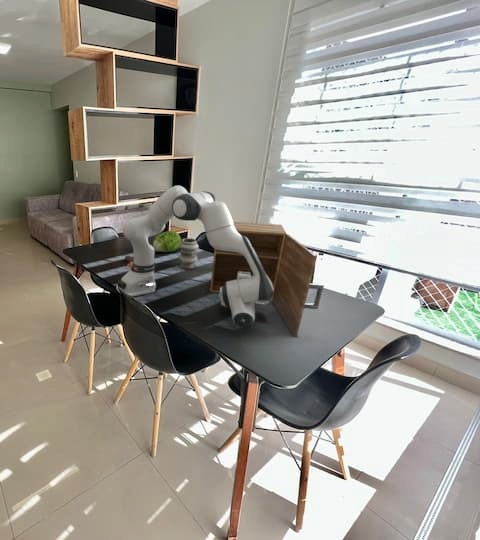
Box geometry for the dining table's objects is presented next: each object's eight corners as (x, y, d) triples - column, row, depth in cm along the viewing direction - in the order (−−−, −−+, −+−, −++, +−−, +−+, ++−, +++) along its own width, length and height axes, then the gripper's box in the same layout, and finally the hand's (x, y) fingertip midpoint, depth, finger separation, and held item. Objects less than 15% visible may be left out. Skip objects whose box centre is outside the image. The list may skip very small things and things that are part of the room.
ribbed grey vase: (176, 268, 183) (177, 241, 176) (179, 262, 193) (181, 236, 186) (195, 271, 178) (197, 243, 172) (198, 264, 189) (200, 238, 182)
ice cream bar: (138, 261, 187) (130, 254, 200) (130, 262, 186) (123, 255, 199) (137, 266, 188) (130, 258, 202) (130, 267, 187) (123, 259, 200)
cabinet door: (287, 301, 140) (302, 234, 127) (313, 337, 113) (335, 256, 100) (272, 300, 141) (285, 234, 128) (294, 336, 114) (314, 255, 101)
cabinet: (272, 300, 142) (286, 233, 129) (209, 291, 152) (216, 228, 139) (269, 285, 157) (281, 224, 145) (212, 278, 167) (219, 221, 155)
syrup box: (246, 298, 144) (250, 271, 139) (246, 303, 139) (251, 276, 134) (234, 296, 146) (237, 270, 140) (234, 302, 141) (238, 275, 135)
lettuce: (149, 253, 220) (146, 236, 211) (170, 241, 226) (168, 224, 217) (162, 262, 209) (159, 245, 199) (184, 249, 215) (182, 232, 205)
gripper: (271, 299, 119) (268, 285, 131) (219, 291, 126) (221, 279, 138) (268, 312, 121) (265, 297, 133) (217, 304, 128) (219, 291, 140)
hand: (242, 288), depth 136 cm, fingers open, 8 cm apart
